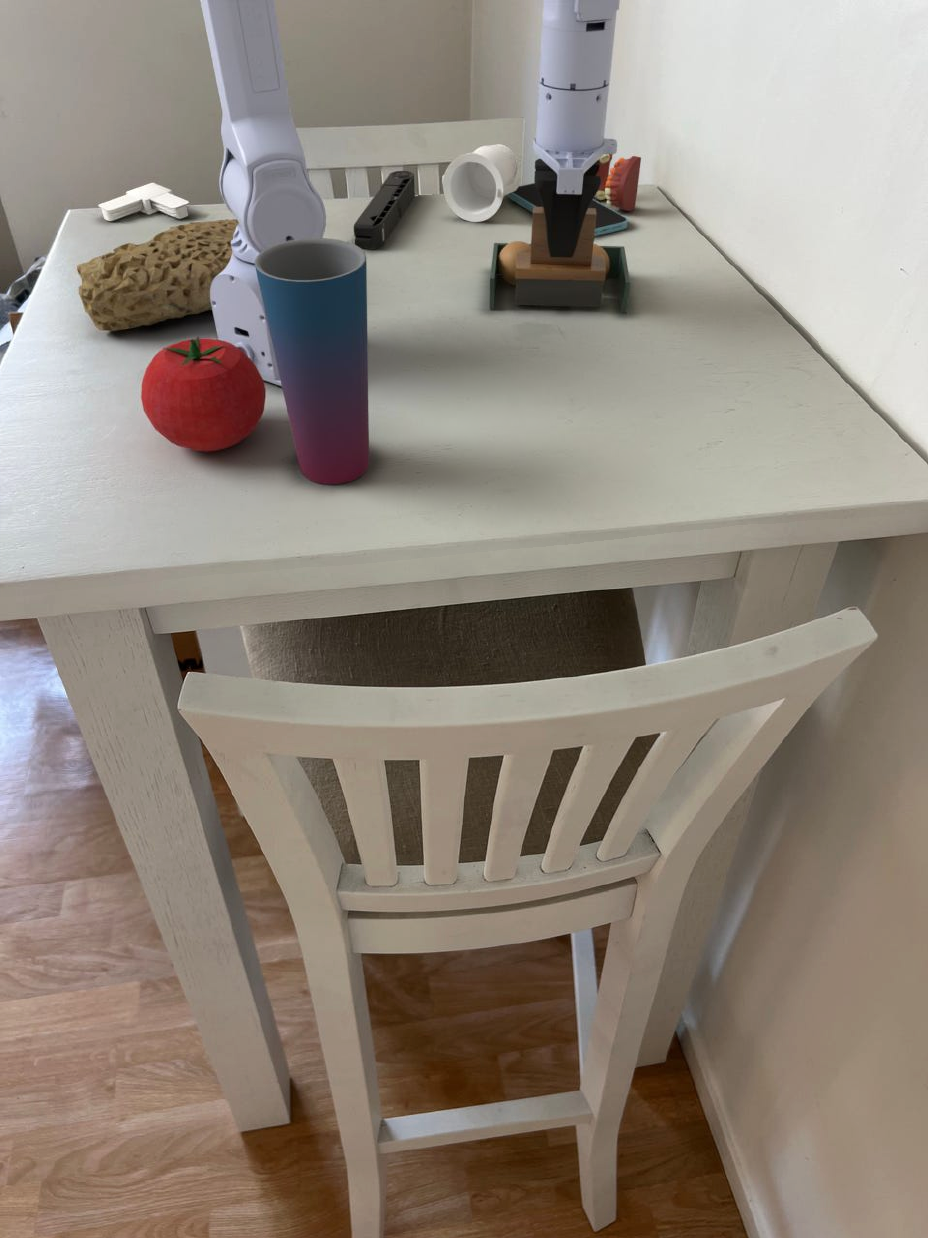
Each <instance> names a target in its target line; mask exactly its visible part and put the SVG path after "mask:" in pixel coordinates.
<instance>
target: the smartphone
mask: <svg viewBox="0 0 928 1238" xmlns="http://www.w3.org/2000/svg"><path fill="white" fill-rule="evenodd" d="M508 198H509V199H510V200H511V201H513V202H515V203H516V204H518V205H519V206H521V207H523V208H525V209H526V210H528V211H530V212H531V213H533V207H543V204H542V201H541V198H540V196H539V193H538V191H537V188H536V186H535V182H533V183H528V184H522V185H518V188H517V190H516V191H514V192H511V193H508ZM588 208H595V209H596V224H595V234H594V237H597V236H603V235H606V234H607V235H608V234H610V233H615V232H619V231H622V230H625V229H627V227H628V223H629V222H628V221H629V219H628V218H627V217H626V216H624V215H623V214H621V213H619V212H617V211H616V210H613V209H612V208H610V207H608V206H606V205H605V204H603V203H601V202H599V201H598V200H595V199H594V198H593V199H592V201H591V203H590V205H589V207H588Z"/></svg>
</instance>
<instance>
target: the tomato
mask: <svg viewBox="0 0 928 1238" xmlns="http://www.w3.org/2000/svg"><path fill="white" fill-rule="evenodd" d="M142 377H143V378H142V381H141V391H140V398H141V404H142V409H143V412H144V414H145V416H146V417H147V419H148V421H149V422H150V424H151V426H152V427H153V429H154V430H155V431H156V432H158V433H159V434H160V435H161V436H162V437H164V438H165V439H166V440H167V441H169V442H170V443H171V444H173V445H176V446H178V447H181V448H186V449H188V450H192V451H196V452H197V451H198V452H216V451H222V450H225V449H229V448H230V447H233V446H235V445H236V444H239V442H241V441H243V440H244V439H246V438H247V437H248V436H249V435H250V434H252V433H253V432H254V430H255V429H256V428H257V425H258V424H259V422H260V420H261V418H262V416H263V414H264V411H265V405H266V395H267V394H266V392H267V390H266V386H265V381H264V380H263V379H262V377H261V375H260V373H259V371H258V369H257V367H256V365H255V364H254V363H253V362H252V361H251V360H250V358H249V357H248V356H247V355H246V354H245V353H244V352H243V351H241V350H240V349H239V348H237V347H236V346H234V345H233V344H231V343H228V342H226V341H222V340H218V338H217V339H215V338H200V336H197V337H196V338H190V339H186V340H181V341H179V342H176V343H173V344H170V345H168V346H166V347H162V349H161V350H159V351H158V352H157V353H156V354H155V355H154V356H153V358H152V359H151V361H150V362H149V363H148V365H147V367H146V368H145V372H144V375H143V376H142Z"/></svg>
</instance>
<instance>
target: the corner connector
mask: <svg viewBox="0 0 928 1238" xmlns="http://www.w3.org/2000/svg"><path fill="white" fill-rule="evenodd" d="M188 204H190V201H189V200H186V199H184V198H182V197H179V196H176V195H174V194H173V190H172V189H169V188H167V187H165V186H163V185H159V184H157V183H155V182H149V183H147V184H145V185H142V186H139V187H135V188H133V189H130V190H128V191H125V194H124V195H122V196H119V197H116V198H113V199H110V200H107V201H105V202H102V203H99V204H98V205H97V206H98V207H99V208H100V209H101V212H102V216H103V219H104V220H106V221H109V222H114V221H116V220H119V219H121V218H123V217H126V216H129V215H133V214H134V213H138V212H141V213H144V214H146V215H149V216H150V215H152V214H155V213H157V212H161V213H164V214H166V215H169V216H171V217H173V218H175V219H179V220H180V219H184V218H186V217H188V216H189V212H188V209H187V208H188V207H187V205H188Z"/></svg>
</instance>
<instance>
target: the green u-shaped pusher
mask: <svg viewBox="0 0 928 1238" xmlns="http://www.w3.org/2000/svg"><path fill="white" fill-rule="evenodd" d="M509 243H510V242H508V243H507V242H494V243H493V250H492V258H491V266H490V275H489V310H490V311H494V309H495V300H496V299H495V298H496V289H497V282H498V281H497V280H498V275H500V273H499V271H498V265H497V262H498V257H499V254H500V252H501V251H502V249H503V248H504V247H505V246H506V245H508V244H509ZM528 244H529V245H531V243H528ZM599 246H600V247H602V248H603V249H604V250H605V251H606V253H607V255H608V257H609V262H610V267H609V272H608V275H607V276H606V278H607V279H609V278H610V279H616V282H617V288H618V295H619V303H620V309H621V314H622V315H626V314H627V310H628V303H629V302H628V301H629V295H630V288H631V278H630V273H629V267H628V262H627V255H626V249H625V246H623V245H619V246H618V245H599ZM606 278H605V279H606Z"/></svg>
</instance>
